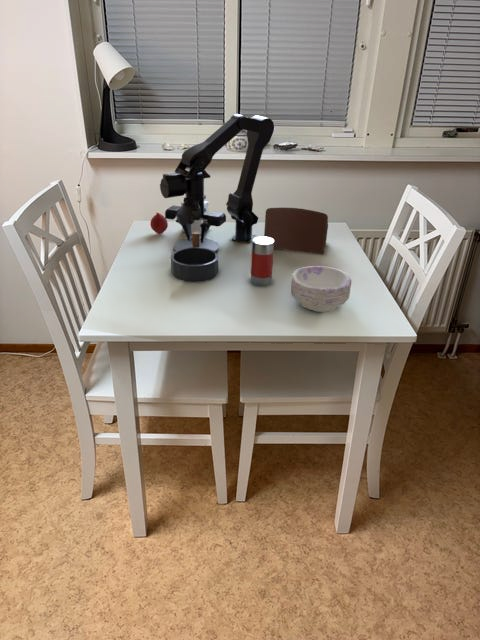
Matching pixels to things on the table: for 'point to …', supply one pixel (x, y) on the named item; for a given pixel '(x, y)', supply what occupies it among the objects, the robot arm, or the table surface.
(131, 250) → the table surface
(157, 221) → the onion
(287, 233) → the letter holder
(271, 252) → the cylinder
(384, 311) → the table surface
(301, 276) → the paper bowls
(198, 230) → the small box
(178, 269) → the pot
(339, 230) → the table surface
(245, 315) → the table surface
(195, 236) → the lid
